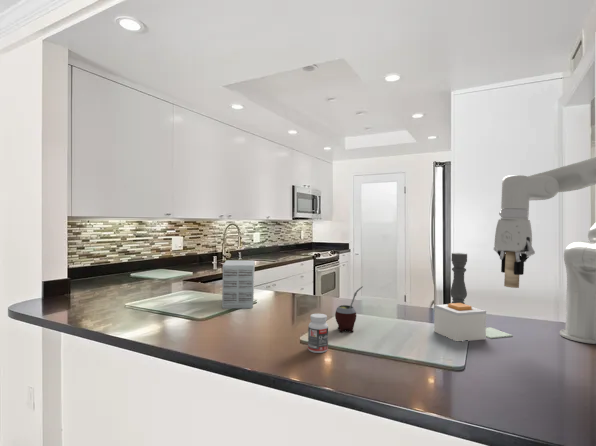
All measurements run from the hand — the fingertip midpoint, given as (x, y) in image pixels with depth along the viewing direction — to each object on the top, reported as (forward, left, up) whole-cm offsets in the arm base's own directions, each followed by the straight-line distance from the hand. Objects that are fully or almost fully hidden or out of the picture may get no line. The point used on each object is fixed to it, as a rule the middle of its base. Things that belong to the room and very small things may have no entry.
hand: (512, 272), depth 115 cm
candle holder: (-4, -28, -22) cm, 36 cm away
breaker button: (+12, -9, -15) cm, 21 cm away
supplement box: (+76, -70, -22) cm, 105 cm away
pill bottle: (+62, -8, -22) cm, 66 cm away
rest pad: (0, -8, -22) cm, 23 cm away
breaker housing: (+12, -9, -22) cm, 26 cm away
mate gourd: (+46, -23, -22) cm, 56 cm away
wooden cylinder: (0, 0, -4) cm, 4 cm away
